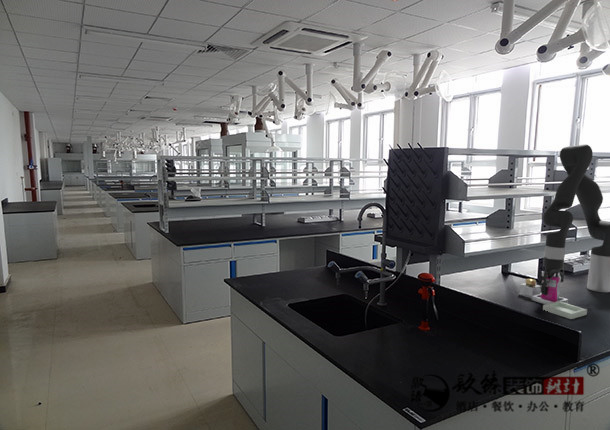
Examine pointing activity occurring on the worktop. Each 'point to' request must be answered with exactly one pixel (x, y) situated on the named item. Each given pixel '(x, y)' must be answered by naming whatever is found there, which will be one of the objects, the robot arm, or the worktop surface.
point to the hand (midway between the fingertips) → (550, 293)
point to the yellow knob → (531, 282)
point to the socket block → (536, 294)
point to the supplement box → (553, 290)
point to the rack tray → (565, 309)
